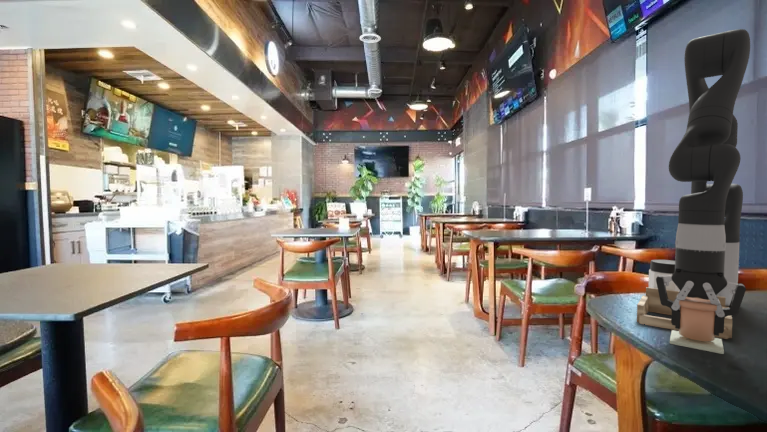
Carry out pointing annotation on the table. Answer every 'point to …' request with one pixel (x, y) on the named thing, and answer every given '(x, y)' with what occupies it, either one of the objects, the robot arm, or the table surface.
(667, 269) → the jar
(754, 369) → the table surface
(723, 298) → the wooden tray
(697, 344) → the pad
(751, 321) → the table surface
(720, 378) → the table surface
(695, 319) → the pot
